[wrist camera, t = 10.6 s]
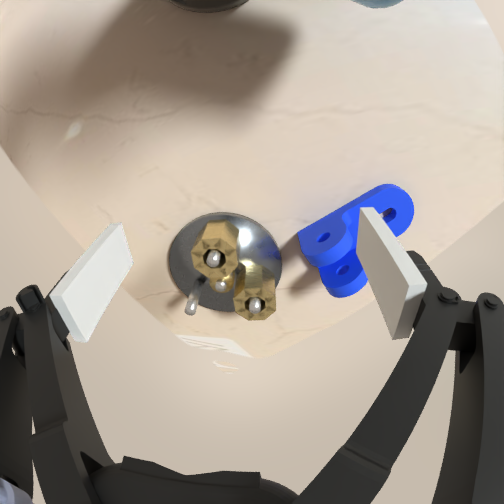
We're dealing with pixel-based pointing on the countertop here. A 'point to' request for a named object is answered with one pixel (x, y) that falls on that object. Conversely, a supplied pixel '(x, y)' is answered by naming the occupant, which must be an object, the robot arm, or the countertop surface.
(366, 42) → the countertop surface
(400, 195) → the bracket
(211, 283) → the carrier
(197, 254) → the octagonal wooden tube
